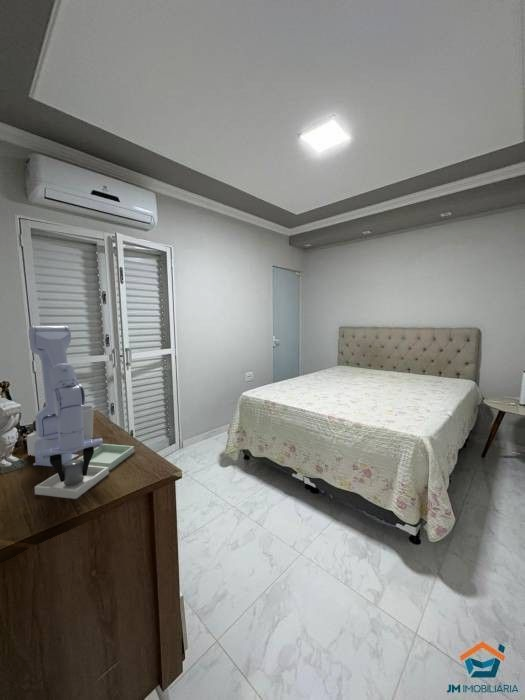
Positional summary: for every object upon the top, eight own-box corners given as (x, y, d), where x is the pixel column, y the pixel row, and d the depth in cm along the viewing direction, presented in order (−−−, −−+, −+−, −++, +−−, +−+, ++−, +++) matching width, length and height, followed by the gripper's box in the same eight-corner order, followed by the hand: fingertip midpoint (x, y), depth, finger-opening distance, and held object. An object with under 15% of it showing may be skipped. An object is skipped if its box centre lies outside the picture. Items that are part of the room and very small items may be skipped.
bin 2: (75, 468, 86) (75, 460, 86) (103, 450, 98) (103, 443, 98) (110, 471, 84) (110, 463, 84) (134, 453, 96) (134, 446, 96)
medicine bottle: (44, 457, 93) (42, 423, 91) (27, 455, 94) (24, 421, 93) (64, 448, 100) (61, 416, 98) (47, 446, 101) (45, 414, 100)
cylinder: (59, 484, 75) (58, 467, 75) (73, 475, 80) (72, 458, 79) (74, 486, 74) (73, 468, 74) (87, 476, 79) (86, 460, 78)
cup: (66, 440, 106) (64, 410, 105) (86, 433, 113) (84, 404, 112) (80, 444, 103) (78, 413, 102) (100, 436, 110) (98, 407, 109)
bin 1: (35, 496, 72) (34, 486, 72) (73, 471, 84) (72, 463, 84) (75, 501, 70) (75, 491, 70) (108, 475, 82) (108, 467, 82)
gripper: (35, 441, 68) (39, 493, 69) (103, 428, 77) (105, 475, 78) (37, 432, 74) (41, 480, 75) (100, 421, 82) (102, 464, 84)
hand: (73, 477), depth 77 cm, fingers closed on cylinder, 5 cm apart
